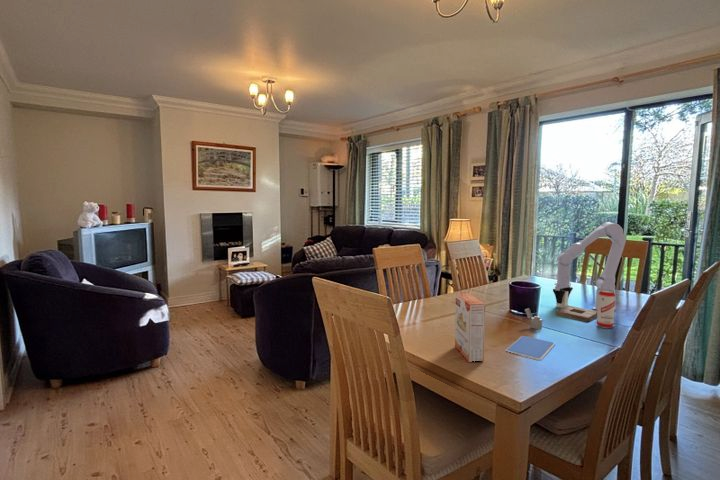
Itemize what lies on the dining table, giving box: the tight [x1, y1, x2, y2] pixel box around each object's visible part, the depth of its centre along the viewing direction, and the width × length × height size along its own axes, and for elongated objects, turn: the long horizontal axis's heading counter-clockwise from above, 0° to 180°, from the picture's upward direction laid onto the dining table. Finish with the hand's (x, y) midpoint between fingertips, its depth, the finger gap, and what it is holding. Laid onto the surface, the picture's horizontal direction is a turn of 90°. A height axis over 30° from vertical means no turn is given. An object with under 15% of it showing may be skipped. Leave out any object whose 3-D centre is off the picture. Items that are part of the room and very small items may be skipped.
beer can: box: [596, 290, 616, 329], centre depth 164 cm, size 6×6×16 cm
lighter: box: [524, 307, 543, 331], centre depth 164 cm, size 7×2×8 cm, turn 42°
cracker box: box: [454, 293, 486, 363], centre depth 135 cm, size 14×6×21 cm, turn 5°
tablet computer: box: [505, 335, 556, 361], centre depth 142 cm, size 19×13×1 cm, turn 139°
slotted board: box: [555, 305, 597, 323], centre depth 181 cm, size 14×14×2 cm
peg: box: [555, 291, 569, 308], centre depth 195 cm, size 4×4×8 cm
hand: (562, 301), depth 195 cm, fingers open, 7 cm apart
